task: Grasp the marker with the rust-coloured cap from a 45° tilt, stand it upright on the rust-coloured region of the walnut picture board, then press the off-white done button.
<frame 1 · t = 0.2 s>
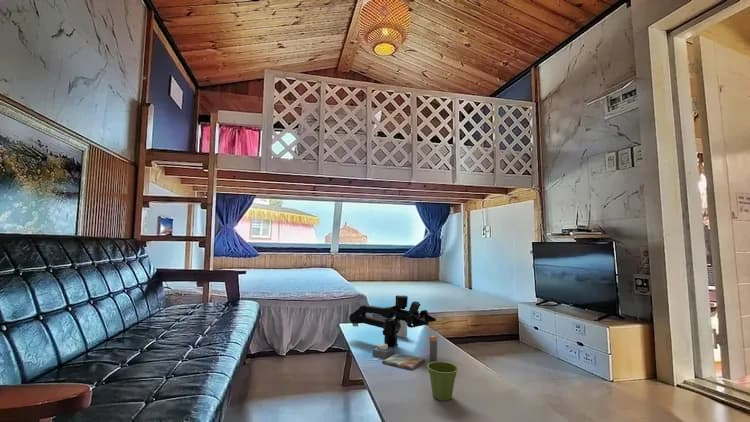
hand: (432, 321, 190), 17 cm above the table, tool horizontal, fingers open, 9 cm apart
done button: (383, 347, 187), point 3 cm above the table, slide at 0.0 cm
marker: (433, 362, 176), on the table
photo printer: (399, 336, 223), on the table
plant pot: (442, 397, 139), on the table
picture board: (403, 362, 176), on the table
button housing: (383, 354, 187), on the table
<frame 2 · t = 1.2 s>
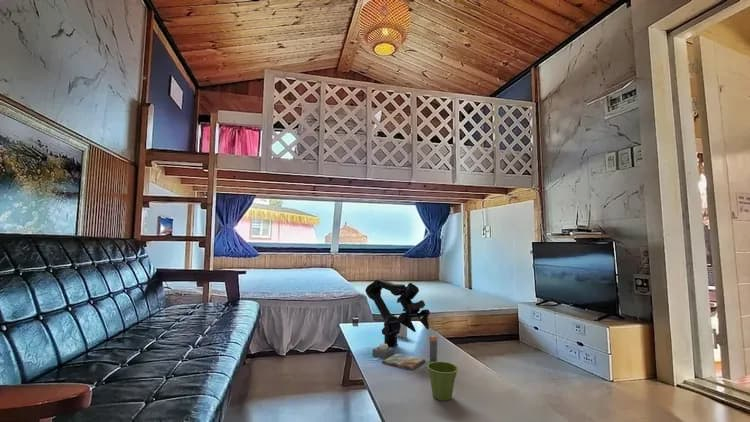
hand: (421, 330, 184), 14 cm above the table, tool tilted 45°, fingers open, 9 cm apart
nothing on the table moved.
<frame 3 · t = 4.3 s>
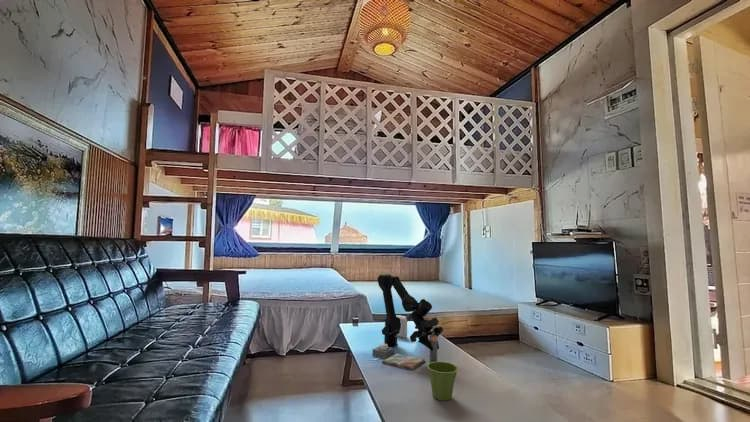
hand: (435, 349, 176), 7 cm above the table, tool tilted 45°, fingers closed on marker, 4 cm apart
marker: (433, 362, 176), on the table, touching gripper
everything else where it was.
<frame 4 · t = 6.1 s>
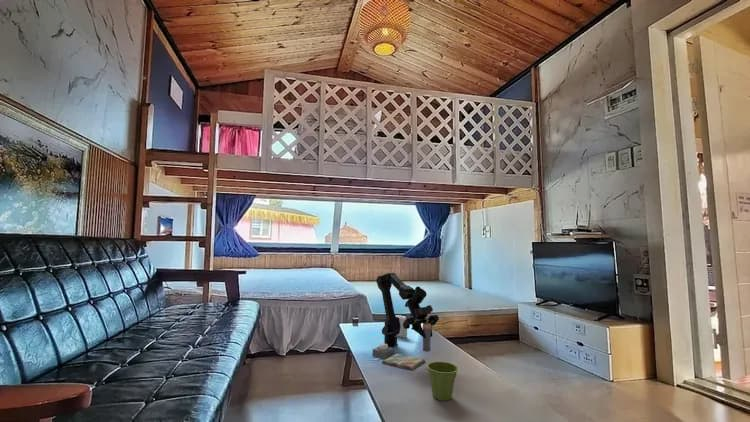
hand: (428, 337, 174), 13 cm above the table, tool tilted 45°, fingers closed on marker, 4 cm apart
marker: (426, 350, 175), point 6 cm above the table, touching gripper
everything else where it was.
when the fingers open (9 cm above the table, at t = 8.2 s): marker stays where it is, resting on picture board.
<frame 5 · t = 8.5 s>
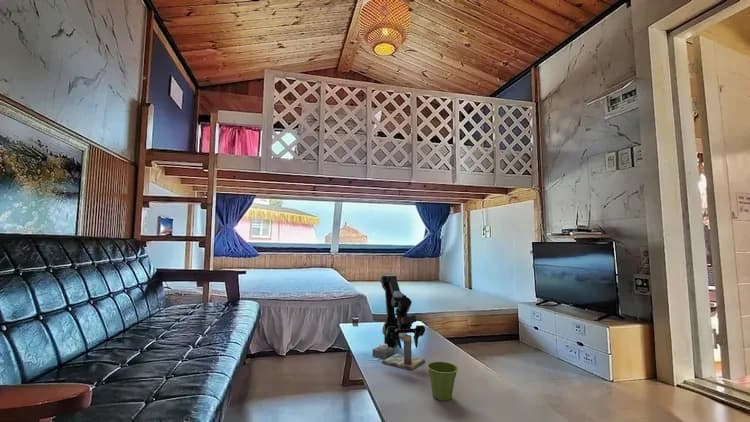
hand: (408, 347, 170), 9 cm above the table, tool tilted 45°, fingers open, 7 cm apart
marker: (407, 363, 171), point 1 cm above the table, touching picture board
everything else where it was.
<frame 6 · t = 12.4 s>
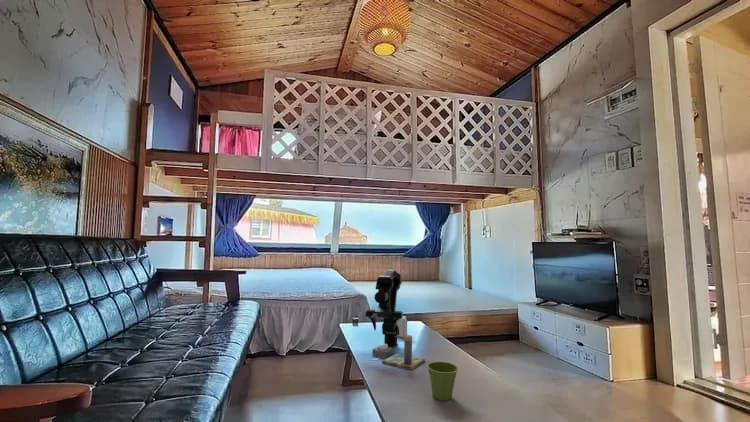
hand: (383, 331, 188), 12 cm above the table, tool pointing down, fingers open, 9 cm apart
nothing on the table moved.
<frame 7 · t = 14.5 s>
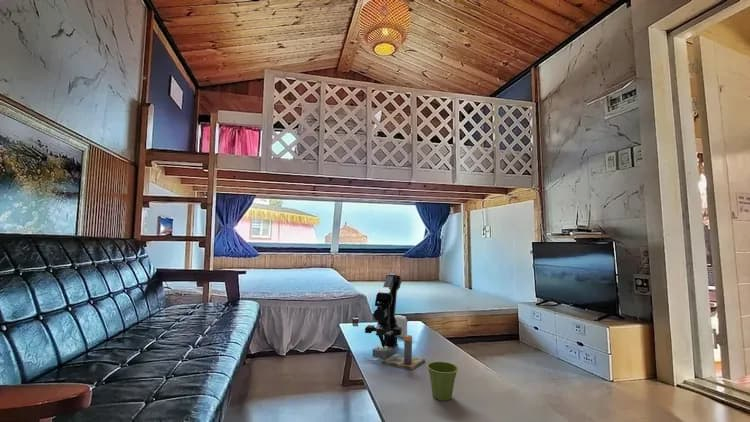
hand: (383, 347, 187), 4 cm above the table, tool pointing down, fingers closed, pressing on done button
done button: (383, 350, 187), point 2 cm above the table, slide at 1.2 cm, touching gripper
everything else where it was.
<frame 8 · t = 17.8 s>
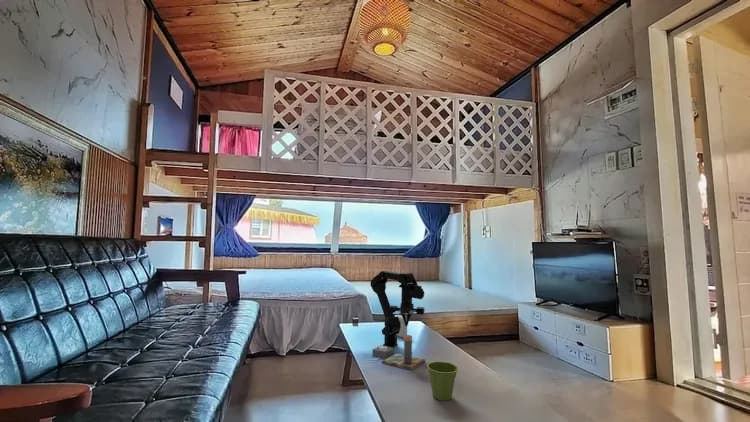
hand: (406, 326, 194), 13 cm above the table, tool pointing down, fingers closed
done button: (383, 350, 187), point 2 cm above the table, slide at 1.3 cm
everything else where it was.
at the end: marker 0.0 cm from the target spot, point 1.4 cm above the table; marker tilted 1°; done button slide at 1.3 cm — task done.
